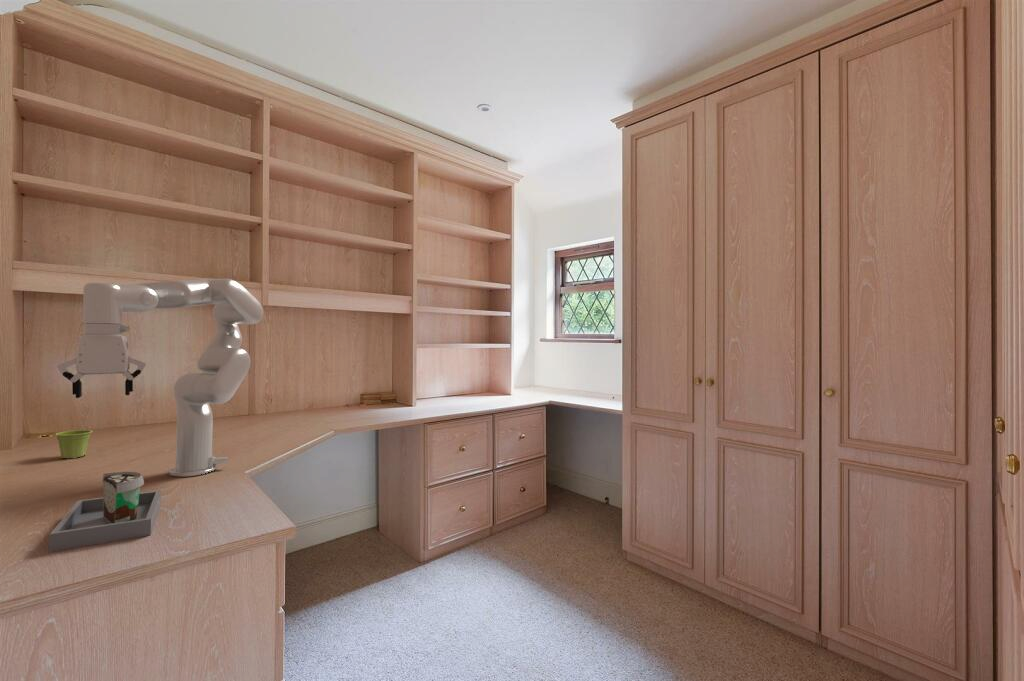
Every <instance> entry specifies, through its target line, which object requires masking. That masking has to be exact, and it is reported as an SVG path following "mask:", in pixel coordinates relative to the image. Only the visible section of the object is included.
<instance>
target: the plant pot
mask: <svg viewBox="0 0 1024 681" xmlns="http://www.w3.org/2000/svg"><path fill="white" fill-rule="evenodd" d="M92 433H93V430H92V429H91V430H89V429H80V430H79V429H78V430H66V431H60V432H57V433H55V437H56V439H57V440H58V446H59V450H60V457H61V459H62V458H65V459H69V458H73V459H75V458H74V457H80V458H82V457H85V456H86V454H87V449H88V445H89V439H90V437H91V434H92ZM84 455H85V456H84ZM81 456H82V457H81Z"/></svg>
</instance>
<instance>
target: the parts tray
mask: <svg viewBox="0 0 1024 681" xmlns="http://www.w3.org/2000/svg"><path fill="white" fill-rule="evenodd" d="M160 504H161V505H162V490H161V489H160V490H154V491H153V490H152V491H147V492H144V491H143V492H140V493H139V501H138V510H137V518H136V519H135V520H132V521H125V522H118V523H111V524H110V523H109V522H108V521H107V520H106V519H105V518H104V517H103V497H96V498H88V499H86V498H85V499H79V500H76V502H75V504H73V505H72V507H71V508H70V509H69V511H68V512H67V513H66V514H65V516H63V518H62V519H61V520H60V521H59V523H57V525H56V526H55V528H53V529H52V531H50V533H49V552H54V551H61V550H68V549H74V548H75V549H76V548H80V547H86V545H87V546H93V545H98V543H99V544H104V543H103V542H105V543H111V542H117V541H116V540H118V541H123V540H122V539H124V540H129V539H128V538H130V539H135V538H141V537H148V536H151V535H152V533H153V530H154V525H155V522H156V520H157V516H158V514H157V513H159V511H160V508H159V507H161V505H160ZM158 510H159V511H158ZM110 541H111V542H110ZM92 544H93V545H92Z"/></svg>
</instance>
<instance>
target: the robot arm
mask: <svg viewBox="0 0 1024 681" xmlns="http://www.w3.org/2000/svg"><path fill="white" fill-rule="evenodd" d="M82 293H83V335H80V337H79V339H78V345H77V349H76V350H77V351H76V357H75V358H72V359H70V360H68V361H65V362H62V363H60V364H58V365H56V368H57V370H58V371H59V372H60V373H61V374H62V376H63V377H64V378H66V379H67V380H69V381H70V383H72V388H71V389H72V393H71V394H72V395H75V399H79V398H81V397H82V396H83V392H82V388H83V387H82V386H83V383H82V382H83V381H81V378H82V377H84V375H114V374H115V375H116V374H117V375H118V374H121V375H122V376H124V377H125V378H126V380H125V381H124V383H125V384H124V386H125V387H124V388H125V390H124V391H125V392H124V395H126V396H130V394H131V393H132V392H134V379H135V378H136V377H138V375H140V374H142V372H143V371H144V368H145V367H146V366H147V364H146V362H144V361H141V360H139V359H136V358H134V357H131V356H130V349H129V342H128V338H127V336H126V335H123V334H124V333H127V332H130V326H126V325H124V324H123V313H147V312H150V311H152V310H153V309H164V310H165V309H167V310H168V309H170V310H171V309H175V310H176V309H186V308H191V307H192V308H193V307H201V306H210V305H214V306H213V309H212V316H213V320H214V322H215V328H216V331H215V334H214V336H213V337H212V339H211V341H210V342H209V344H208V345H207V346H206V348H205V349H204V350H203V351H202V353H201V354H200V356H199V358H198V359H197V360H198V361H197V369H198V370H199V371H200V372H191V373H186V374H183V375H180V377H178V378H177V380H176V381H175V383H174V386H173V393H174V399H175V404H176V441H175V445H176V446H175V466H174V467H172V468H170V470H169V471H168V472H169V475H170V476H172V477H180V478H181V477H185V478H186V477H195V476H196V477H197V476H201V474H202V475H206V474H209V473H208V472H210V473H212V472H211V471H213V472H214V470H215V469H216V470H217V469H218V464H228V463H229V456H225V457H224V456H219V457H216V456H214V453H213V426H214V425H213V422H214V419H213V418H214V414H213V410H212V408H211V404H212V405H222V404H225V403H227V402H229V401H230V400H231V399H232V397H234V395H235V394H236V392H237V391H238V389H239V387H240V386H241V384H242V383H243V380H245V377H247V376H246V375H247V374H248V372H249V370H250V368H251V356H250V354H249V353H248V352H247V351H246V350H245V349H243V348H241V345H242V344H243V336H242V333H241V331H240V327H239V325H256V324H258V323H260V322H261V321H262V319H263V318H264V313H265V312H264V308H263V305H262V304H261V302H260V301H259V300H258V299H257V298H256V297H255V296H253V294H252V293H250V292H249V291H248V290H247V288H245V287H244V286H243V285H242V284H241V283H239V282H238V281H236V280H234V279H232V278H198V279H179V280H178V279H177V280H165V281H156V282H143V283H124V284H123V283H122V284H116V283H109V282H108V283H107V282H88V283H86V284H84V285H83V291H82ZM130 364H133V365H135V366H137V368H136V370H135V371H133V372H130V370H129V369H130ZM72 365H76V368H75V369H76V372H77V373H75V374H73V373H72V372H70V371H69V370H68V369H69V367H71V366H72ZM216 470H215V471H216ZM205 473H206V474H205Z"/></svg>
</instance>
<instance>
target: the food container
mask: <svg viewBox="0 0 1024 681" xmlns="http://www.w3.org/2000/svg"><path fill="white" fill-rule="evenodd" d="M102 475H103V476H102V483H103V486H102V487H103V488H102V489H103V490H102V491H103V493H102V498H103V517H104V518H105V519H106V520H107V521H108V522H109V523H110V524H111V523H118V522H125V521H132V520H135V519H136V518H137V510H138V501H139V493H141V492H140V490H141V487H142V486H144V484H145V481H144V477H143V475H142V473H140V472H138V471H115V472H107V473H103V474H102Z"/></svg>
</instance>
